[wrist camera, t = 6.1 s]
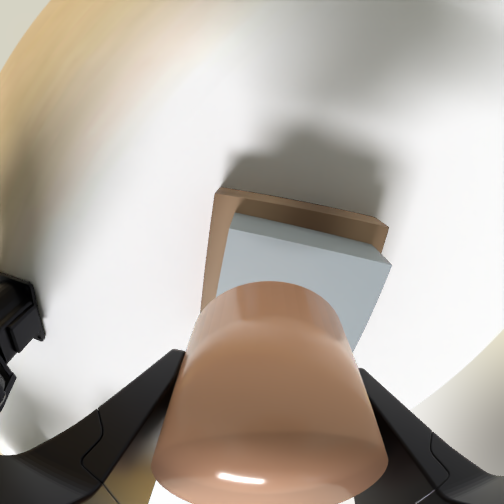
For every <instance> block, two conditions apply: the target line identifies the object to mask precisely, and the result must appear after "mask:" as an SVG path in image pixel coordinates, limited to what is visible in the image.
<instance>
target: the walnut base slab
mask: <svg viewBox="0 0 504 504" xmlns="http://www.w3.org/2000/svg"><path fill="white" fill-rule="evenodd" d="M234 213H240V214H245V215H249V216H254V217H259V218H263V219H268V220H272V221H277V222H281V223H285V224H290V225H294V226H298V227H303V228H307V229H311V230H315V231H320V232H324V233H328V234H332V235H336V236H340V237H344V238H348V239H352V240H356V241H360V242H364V243H368V244H372V245H373V246H374V247H375V248H376V249H377V250H378V251H379V252H380V253H381V252H382V249H383V246H384V243H385V239H386V236H387V233H388V229H389V227H388V226H386V225H385V224H384V223H382V222H381V221H379V220H378V219H377V218H375V217H372V216H367V215H363V214H359V213H354V212H350V211H345V210H341V209H336V208H332V207H327V206H322V205H317V204H312V203H307V202H302V201H297V200H292V199H287V198H282V197H276V196H271V195H265V194H259V193H254V192H248V191H242V190H236V189H229V188H223V187H220V188H219V189H218V190H217V192H216V193H215V195H214V202H213V209H212V217H211V224H210V232H209V240H208V248H207V256H206V264H205V273H204V282H203V291H202V301H201V311H200V313H201V312H202V311H203V309H204V308H205V307H206V306H207V305H208V304H209V303H210V302H211V301H212V300H213V299H215V298H216V294H217V288H218V283H219V278H220V272H221V267H222V262H223V257H224V252H225V247H226V242H227V237H228V232H229V228H230V225H231V222H232V219H233V216H234Z"/></svg>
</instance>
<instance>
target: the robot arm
mask: <svg viewBox="0 0 504 504" xmlns="http://www.w3.org/2000/svg"><path fill="white" fill-rule="evenodd" d="M33 338H34V339H36V340H39V341H43V340H44V339H45V335H44V332H43V328H42V324H41V320H40V316H39V312H38V308H37V303H36V299H35V294H34V289H33V286H32V284H31V283H30V282H27V281H24V280H21V279H18V278H15V277H12V276H9V275H6V274H3V273H1V272H0V412H1V410H2V409H3V407H4V405H5V402H6V400H7V398H8V395H9V393H10V391H11V389H12V387H13V384H14V382H15V380H16V378H17V377H16V376H15V374H14V373H13V372H12V371H11V370H10V369H9V367H8V366H7V363H8V362H9V361H10V360H11V359H12V358H13V357H14V355H15V354H16V353H20V352H21V351H22V350H23V349H24V347H25V346H26V345H27V344H28V343H29V342H30V341H31V340H32V339H33ZM184 356H185V351H182V350H177V349H172V350H171V351H170V352H168V353H167V354H166V355H165V356H163V357H162V358H161V359H160V360H158V361H157V362H156V363H155V364H153V365H152V366H151V367H150V368H148V369H147V370H146V371H145V372H143V373H142V374H141V375H140V376H138V377H137V378H136V379H134V380H133V381H132V382H131V383H129V384H128V385H127V386H126V387H124V388H123V389H122V390H120V391H119V392H118V393H117V394H115V395H114V396H113V397H111V398H110V399H109V400H108V401H106V402H105V403H104V404H102V405H101V406H100V407H99V408H98V410H97V409H96V410H94V411H93V412H92V413H91V414H89V415H88V416H86V417H85V418H84V419H82V420H81V421H79V422H78V423H77V424H75V425H74V426H72V427H70V428H69V429H67V430H65V431H64V432H62V433H60V434H58V435H57V436H55V437H53V438H51V439H49V440H48V441H46V442H44V443H42V444H40V445H38V446H36V447H35V448H33V449H31V450H29V451H26V452H24V453H21V454H17V455H0V504H148V502H149V499H150V496H151V493H152V490H153V487H154V484H155V481H156V479H155V477H154V475H153V473H152V470H151V463H152V459H153V456H154V452H155V449H156V445H157V442H158V439H159V435H160V432H161V429H162V425H163V422H164V419H165V415H166V412H167V409H168V406H169V402H170V399H171V396H172V393H173V390H174V387H175V383H176V380H177V377H178V374H179V371H180V368H181V365H182V362H183V359H184ZM358 369H359V372H360V375H361V378H362V380H363V383H364V386H365V389H366V392H367V395H368V397H369V400H370V403H371V406H372V409H373V412H374V415H375V418H376V421H377V424H378V427H379V431H380V434H381V437H382V440H383V443H384V446H385V450H386V453H387V456H388V465H387V468H386V470H385V472H384V473H383V475H382V476H381V477H380V478H379V479H378V480H377V481H376V482H375V483H374V484H373V485H372V486H370V487H369V488H368V489H366V490H365V491H363V492H361V493H360V494H358V495H356V496H354V499H355V504H504V476H495V475H491V474H489V473H487V472H485V471H483V470H482V469H480V468H479V467H478V466H476V465H475V464H473V463H472V462H471V461H469V460H468V459H467V458H465V457H464V456H462V455H461V454H459V453H458V452H457V451H455V450H454V449H453V448H452V447H450V446H449V445H448V444H447V443H445V442H444V441H443V440H442V439H441V438H440V437H439V436H437V435H436V434H435V433H434V432H432V430H431V429H430V428H428V427H427V426H426V425H425V424H424V423H423V422H422V421H420V419H418V418H417V417H416V416H415V415H414V414H413V413H412V412H411V411H410V410H408V409H407V408H406V407H405V406H404V405H403V404H402V403H401V402H400V401H399V400H397V399H396V398H395V397H394V396H393V395H392V394H391V393H390V392H389V391H387V390H386V389H385V388H384V387H383V386H382V385H381V384H380V383H379V382H378V381H376V380H375V379H374V378H373V377H372V376H371V375H370V374H369V373H368V372H367V371H366V370H364V369H363V368H358Z"/></svg>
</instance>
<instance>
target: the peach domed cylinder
mask: <svg viewBox="0 0 504 504" xmlns="http://www.w3.org/2000/svg"><path fill="white" fill-rule="evenodd" d="M387 465H388V456H387V453H386V450H385V446H384V443H383V440H382V437H381V434H380V431H379V427H378V424H377V421H376V418H375V415H374V412H373V409H372V406H371V403H370V400H369V397H368V395H367V392H366V389H365V386H364V383H363V380H362V378H361V375H360V372H359V369H358V366H357V364H356V361H355V358H354V356H353V353H352V350H351V348H350V345H349V342H348V340H347V337H346V335H345V332H344V329H343V327H342V324H341V322H340V319H339V317H338V315H337V313H336V312H335V310H334V309H333V308H332V306H331V305H330V304H329V303H328V302H327V301H326V300H325V299H323V298H322V297H321V296H319V295H318V294H316V293H315V292H313V291H311V290H309V289H307V288H304V287H302V286H299V285H295V284H291V283H286V282H278V281H259V282H253V283H247V284H244V285H240V286H237V287H235V288H232V289H230V290H227V291H226V292H224V293H222V294H220V295H219V296H217V297H216V298H215V299H213V300H212V301H211V302H210V303H209V304H208V305H207V306H206V307H205V308H204V309H203V311H202V312H201V313H200V315H199V317H198V319H197V321H196V323H195V325H194V328H193V331H192V334H191V337H190V340H189V343H188V346H187V349H186V352H185V356H184V359H183V362H182V365H181V368H180V371H179V374H178V377H177V380H176V383H175V387H174V390H173V393H172V396H171V399H170V402H169V406H168V409H167V412H166V415H165V419H164V422H163V425H162V429H161V432H160V435H159V439H158V442H157V445H156V449H155V452H154V456H153V459H152V463H151V470H152V473H153V475H154V477H155V479H156V480H157V481H158V482H159V483H160V484H161V485H162V486H163V487H164V488H165V489H167V490H168V491H169V492H171V493H172V494H174V495H176V496H178V497H179V498H181V499H183V500H186V501H188V502H190V503H193V504H338V503H341V502H343V501H346V500H348V499H350V498H352V497H354V496H356V495H358V494H360V493H361V492H363V491H365V490H366V489H368V488H369V487H370V486H372V485H373V484H374V483H375V482H376V481H377V480H378V479H379V478H380V477H381V476H382V475H383V473H384V472H385V470H386V468H387Z"/></svg>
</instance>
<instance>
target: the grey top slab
mask: <svg viewBox="0 0 504 504" xmlns="http://www.w3.org/2000/svg"><path fill="white" fill-rule="evenodd" d="M391 266H392V265H391V264H390V263H389V262H388V260H387V259H386V258H385V257H384V256H383V255H382V254H381V253H380V252H379V251H378V250H377V249H376V248H375V247H374V246H373V245H372V244H368V243H364V242H360V241H356V240H352V239H348V238H344V237H340V236H336V235H332V234H328V233H324V232H320V231H315V230H311V229H307V228H303V227H298V226H294V225H290V224H285V223H281V222H277V221H272V220H268V219H263V218H259V217H254V216H249V215H245V214H240V213H234V216H233V219H232V222H231V225H230V228H229V232H228V237H227V242H226V247H225V252H224V257H223V262H222V267H221V272H220V278H219V283H218V288H217V294H216V297H217V296H219V295H220V294H222V293H224V292H226V291H227V290H230V289H232V288H235V287H237V286H240V285H244V284H247V283H253V282H259V281H278V282H286V283H291V284H295V285H299V286H302V287H304V288H307V289H309V290H311V291H313V292H315V293H316V294H318V295H319V296H321V297H322V298H323V299H325V300H326V301H327V302H328V303H329V304H330V305H331V306H332V308H333V309H334V310H335V312H336V313H337V315H338V317H339V319H340V322H341V324H342V327H343V329H344V332H345V335H346V337H347V340H348V342H349V345H350V348H351V350H352V353H353V351H354V349H355V347H356V345H357V343H358V341H359V339H360V337H361V335H362V333H363V331H364V329H365V327H366V325H367V323H368V320H369V318H370V316H371V314H372V312H373V309H374V307H375V305H376V303H377V300H378V298H379V296H380V293H381V291H382V289H383V286H384V284H385V281H386V279H387V277H388V274H389V272H390V269H391Z"/></svg>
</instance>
